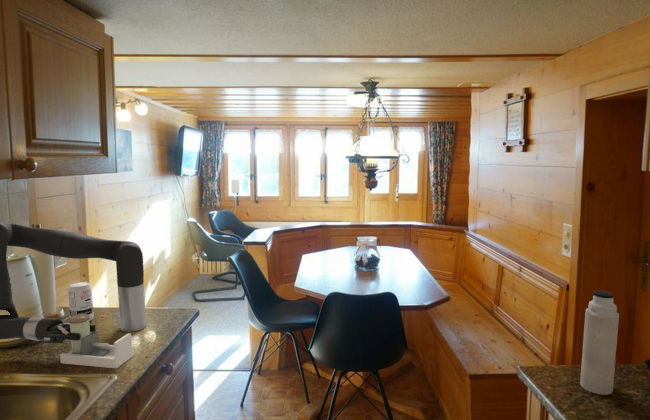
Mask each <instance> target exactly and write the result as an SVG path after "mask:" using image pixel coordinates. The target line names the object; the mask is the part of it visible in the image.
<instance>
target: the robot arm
mask: <svg viewBox="0 0 650 420" xmlns="http://www.w3.org/2000/svg"><path fill="white" fill-rule="evenodd" d="M8 247H17V248H26V249H31V250H34V251H36V252H39V253H43V254H45V255H49V256H54V257H59V258H64V259H74V260H77V259H82V260H84V259H85V260H86V259H102V260H103V259H104V260H109V261H113V262H115V266H116V267H115V268H116V284H117V297H118V299H117V300H118V311H119V312H118V313H119V326H120V327H119V328H120V330H121V332H127V333H129V332H130V333H131V332H136V331H140V330H143V329H145V327H147V318H146V317H147V315H146V299H145V297H146V296H145V282H144V281H145V280H144V279H145V277H144V276H145V275H144V274H145V273H144V272H145V271H144V270H145V269H144V255H143V251H142V249H141V247H140V245H138V244H137V243H136V242H134V241H130V240H129V241H128V240H113V239H106V238H105V239H104V238H99V237H95V236H91V235H87V234H82V233H78V232H72V231H66V230H59V229H50V228H42V227H41V228H40V227H39V228H38V227H32V226H31V227H30V226H27V225H26V226H25V225H21V224H18V223H14V222H12V221H11V222H9V221H6V220H3V219H0V310H6V311H8V312H9V313H10V315H0V340H9V339H10V340H11V339H15V338H16V339H17V338H18V339H25V340H32V341H38V342H44V343H47V344H63V343H64V341H65V342H67V341H71V340H77V341H79V340H80V339H81V335H80V333H71V332H70V322H63V321H62V319H60V318H56V317H44V316H38V317H36V316H35V317H32V316H20V315H19V314H18V311H17V309H16V307H15V304H14V301H13V290H12V289H11V287H12V282H11V283H10V280H11V276H10V273H9V268H8V262H7V259H8V258H7V254H8V253H7V251H8ZM9 276H10V277H9ZM95 331H97V329H96V325H95V324H90V333H93V332H95Z"/></svg>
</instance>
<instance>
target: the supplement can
mask: <svg viewBox="0 0 650 420" xmlns="http://www.w3.org/2000/svg"><path fill="white" fill-rule="evenodd" d="M67 290H68V303H69V305H68V306H69V318H70V317H71V316H74V315H78V314H88V315H89V322H91V321H92V320H93V319H94V318H95V317H94V316H95V313H94V301H93V288H92V285H91V284H90V282H89V281H78V282H74V283H71V284H69V287H68V288H67Z"/></svg>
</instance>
